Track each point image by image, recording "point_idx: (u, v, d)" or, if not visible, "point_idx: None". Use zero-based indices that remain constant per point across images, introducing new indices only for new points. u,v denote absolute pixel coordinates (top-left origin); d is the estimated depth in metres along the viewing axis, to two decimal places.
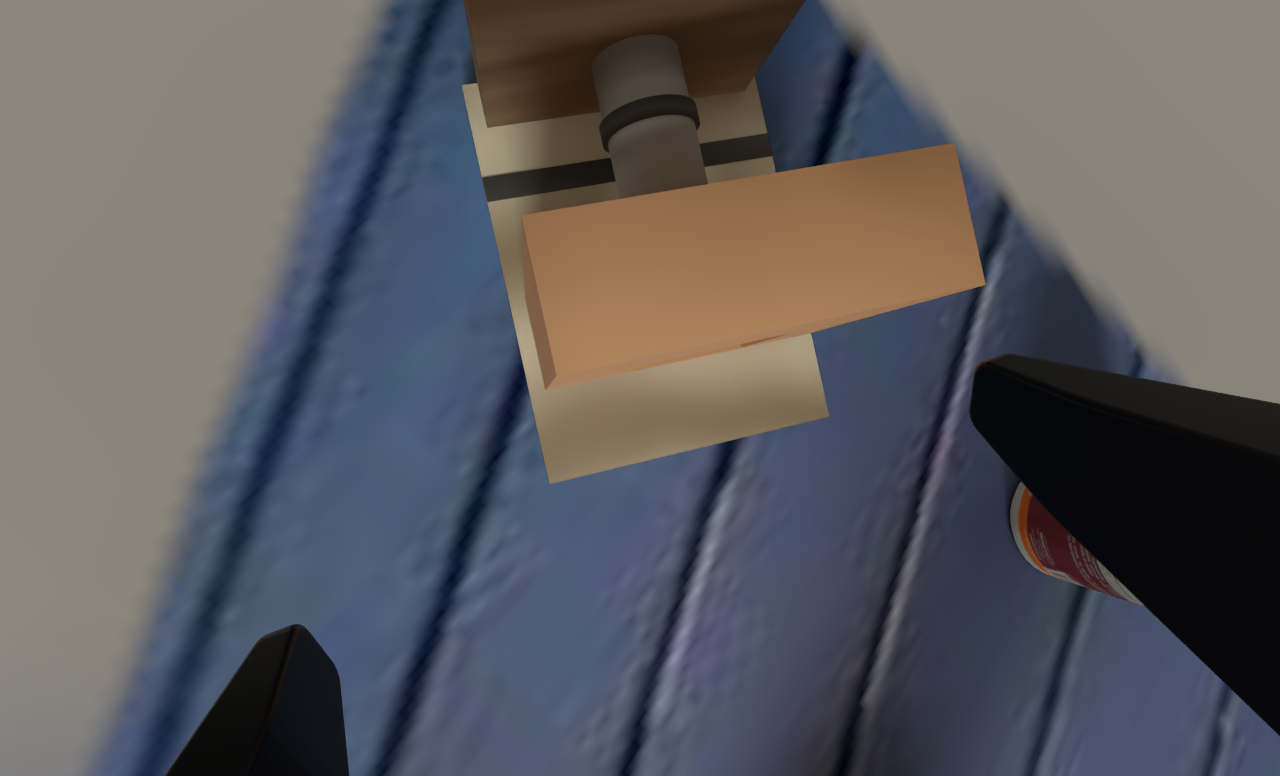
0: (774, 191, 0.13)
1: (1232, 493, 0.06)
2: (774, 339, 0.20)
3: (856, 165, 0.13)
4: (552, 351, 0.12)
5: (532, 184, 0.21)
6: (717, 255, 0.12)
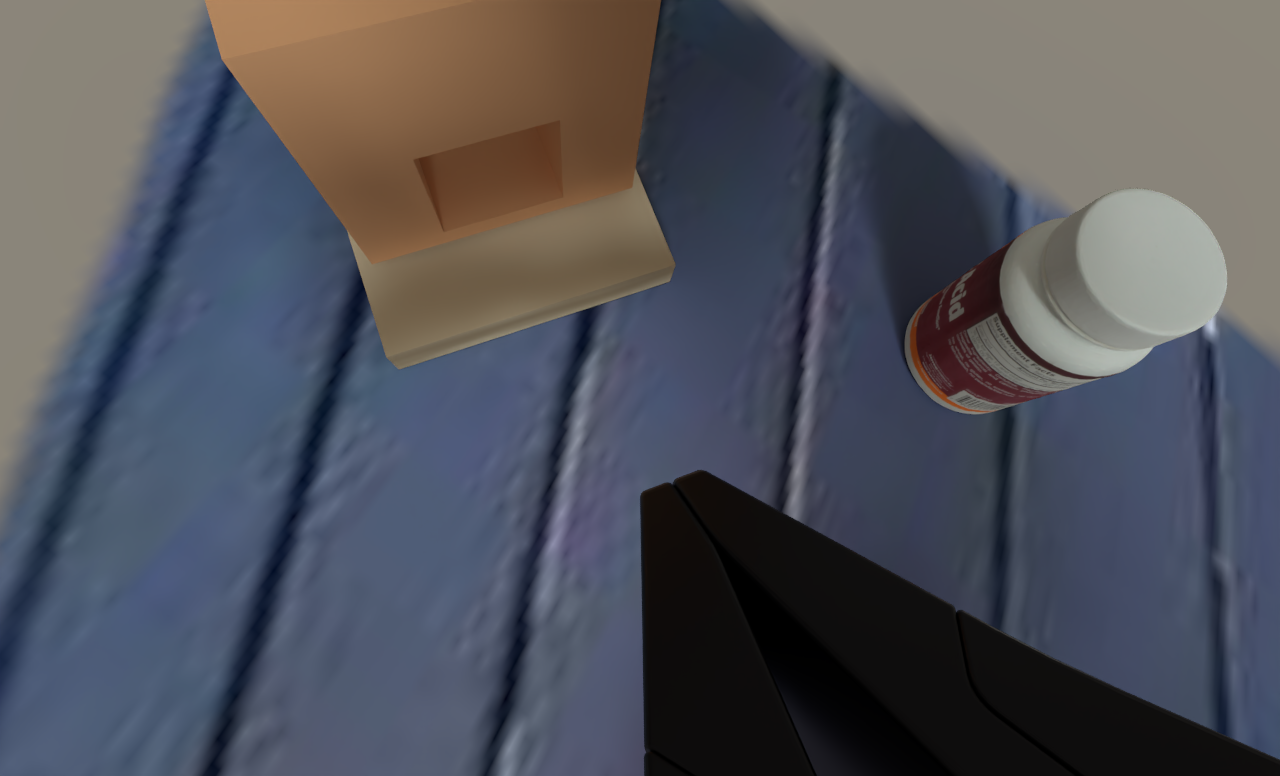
0: None
1: (822, 681, 0.05)
2: (581, 169, 0.20)
3: None
4: (216, 38, 0.12)
5: None
6: None
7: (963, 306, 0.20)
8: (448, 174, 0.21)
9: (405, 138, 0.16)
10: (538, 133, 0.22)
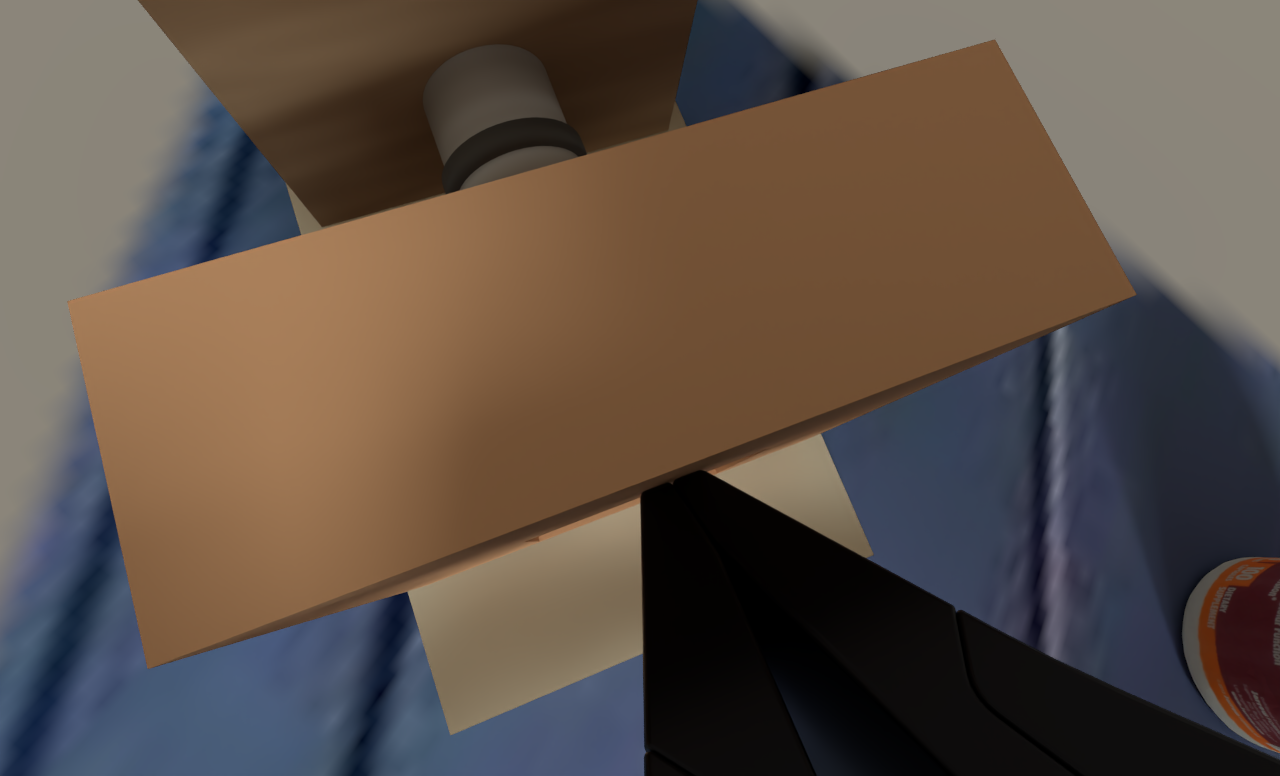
0: (644, 175, 0.06)
1: (822, 681, 0.05)
2: (760, 455, 0.13)
3: (808, 105, 0.06)
4: None
5: None
6: (534, 320, 0.06)
7: None
8: None
9: (521, 540, 0.09)
10: None
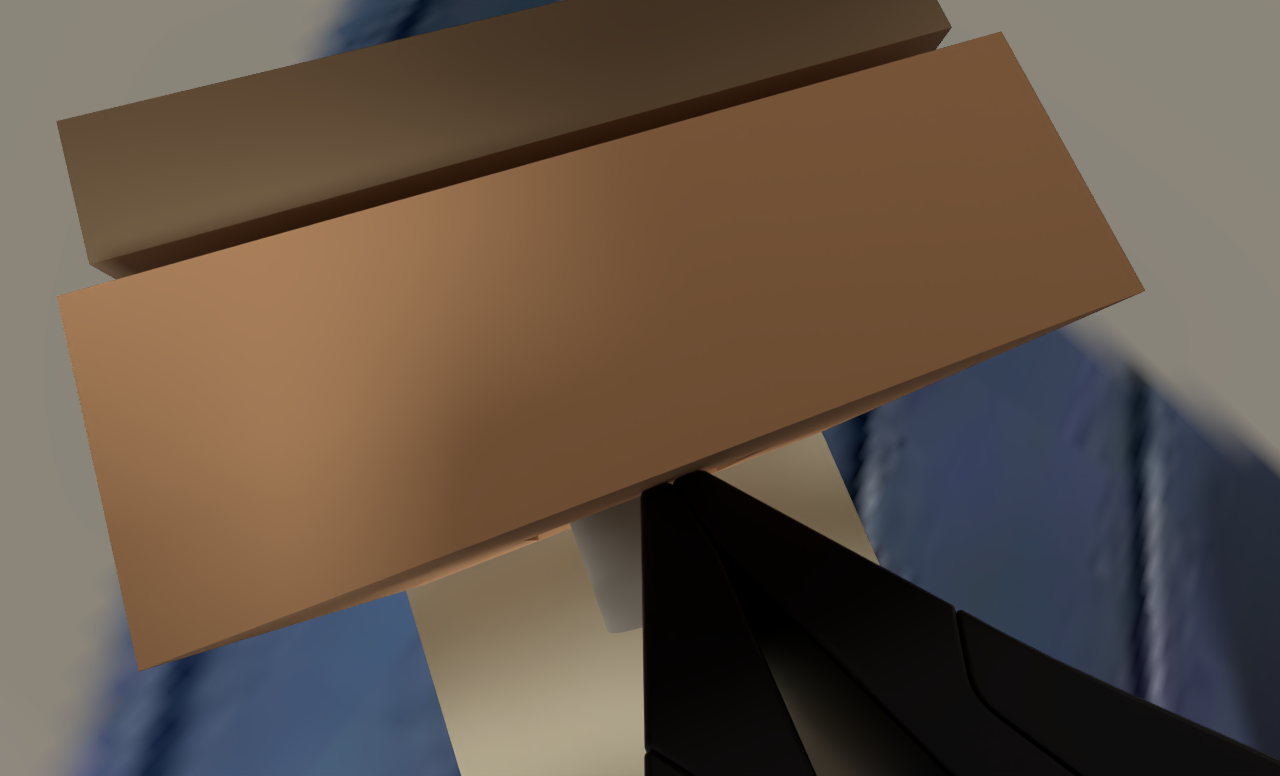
0: (645, 168, 0.06)
1: (822, 680, 0.05)
2: (761, 453, 0.13)
3: (811, 97, 0.06)
4: (125, 609, 0.05)
5: None
6: (534, 316, 0.06)
7: None
8: None
9: (520, 539, 0.08)
10: None
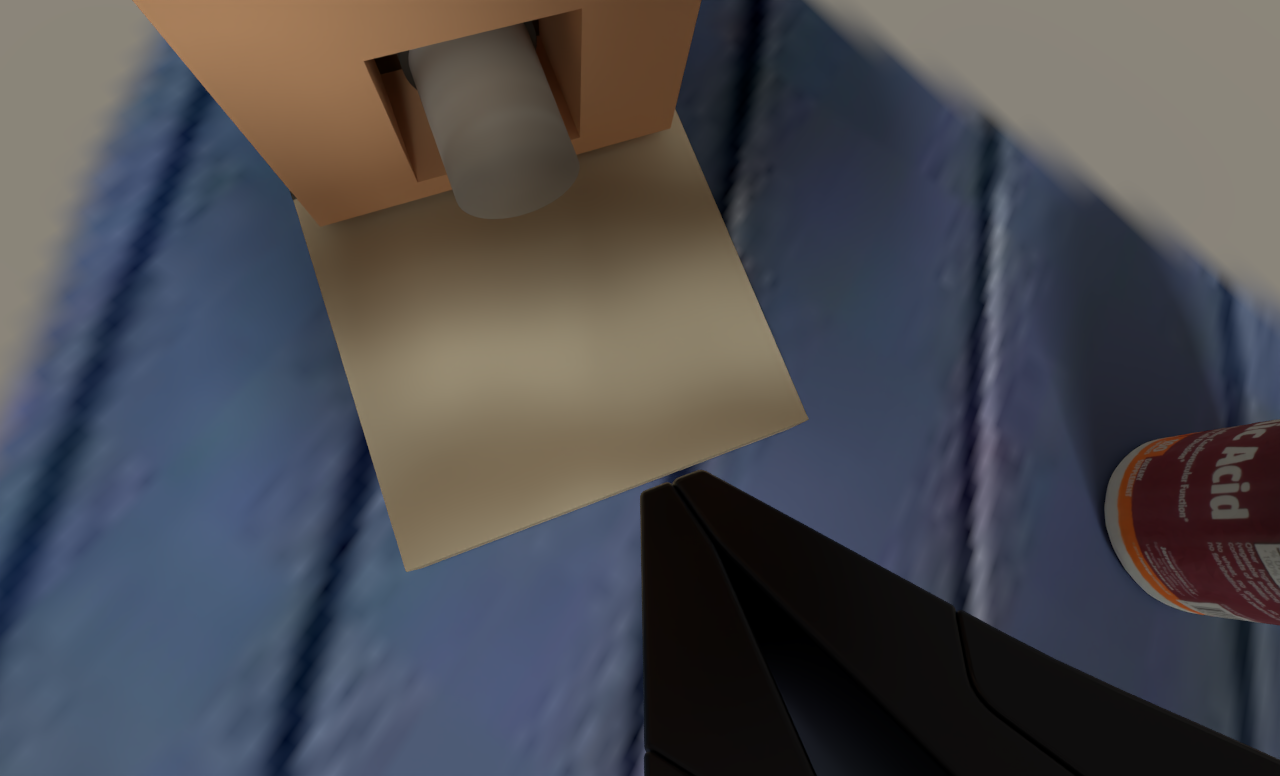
0: None
1: (822, 681, 0.05)
2: (606, 94, 0.15)
3: None
4: None
5: None
6: None
7: (1246, 507, 0.14)
8: None
9: (348, 21, 0.10)
10: (546, 51, 0.16)
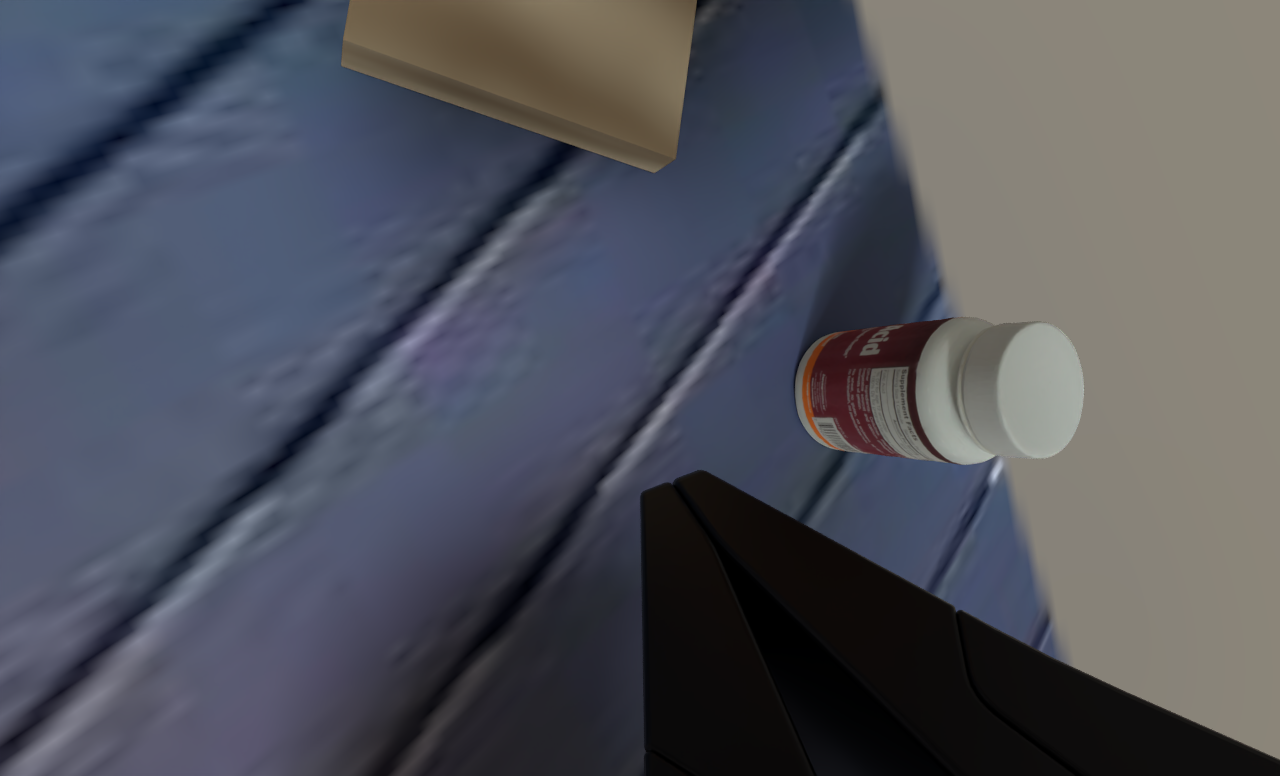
0: None
1: (822, 680, 0.05)
2: None
3: None
4: None
5: None
6: None
7: (879, 348, 0.22)
8: None
9: None
10: None
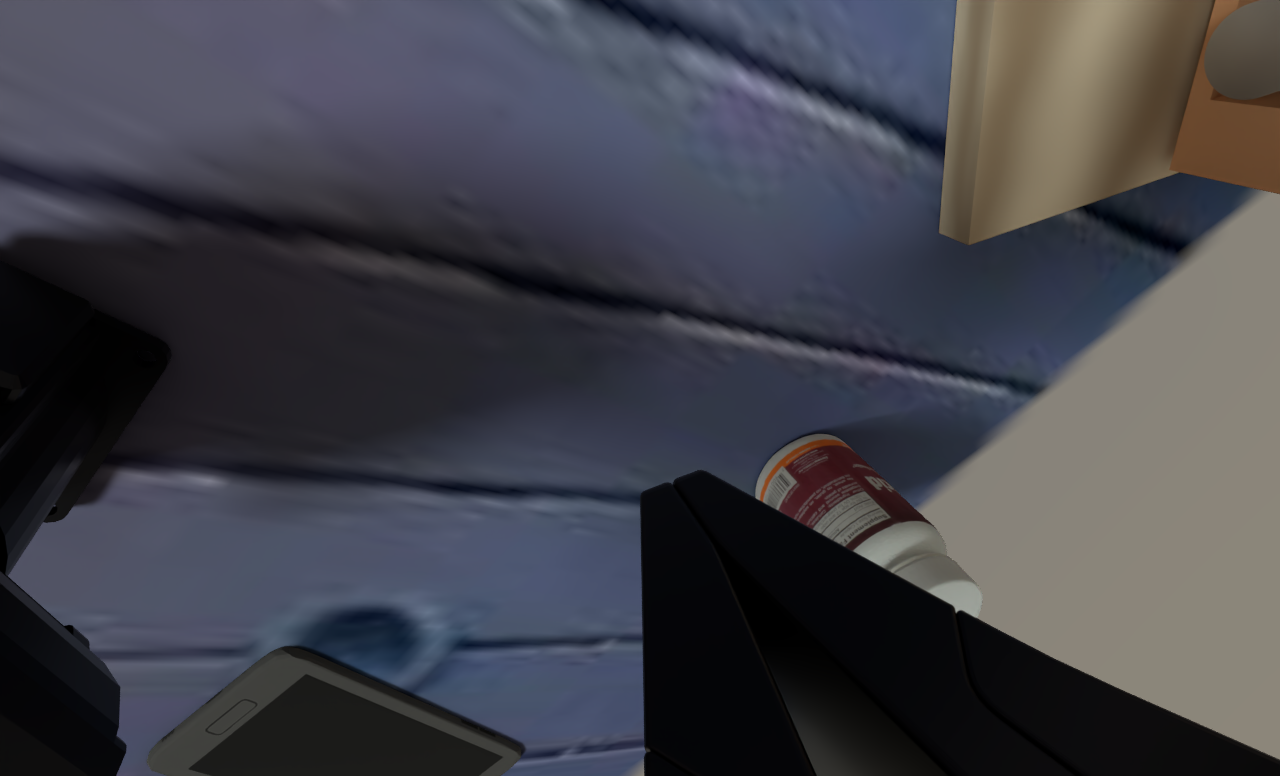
0: None
1: (822, 681, 0.05)
2: (1247, 125, 0.21)
3: None
4: None
5: None
6: None
7: (882, 489, 0.24)
8: None
9: None
10: None
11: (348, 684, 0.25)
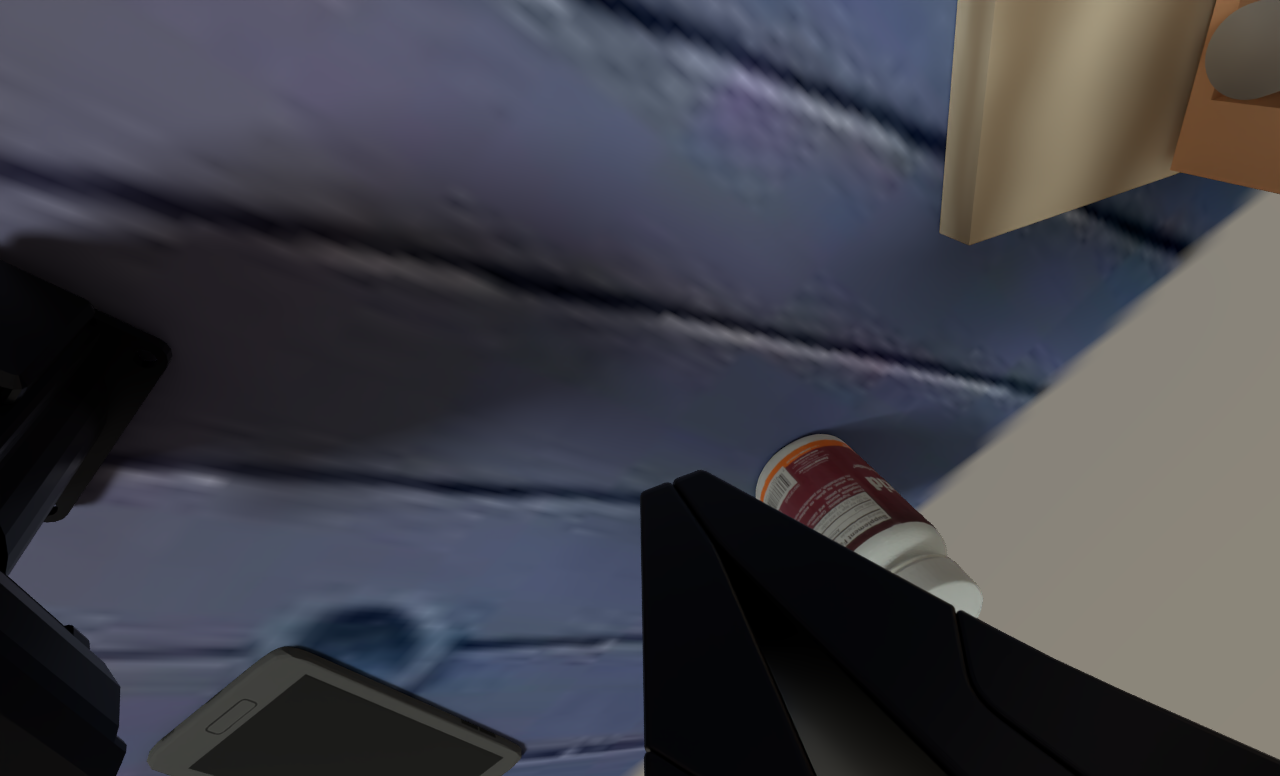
0: None
1: (822, 680, 0.05)
2: (1247, 125, 0.21)
3: None
4: None
5: None
6: None
7: (882, 489, 0.24)
8: None
9: None
10: None
11: (348, 684, 0.25)
